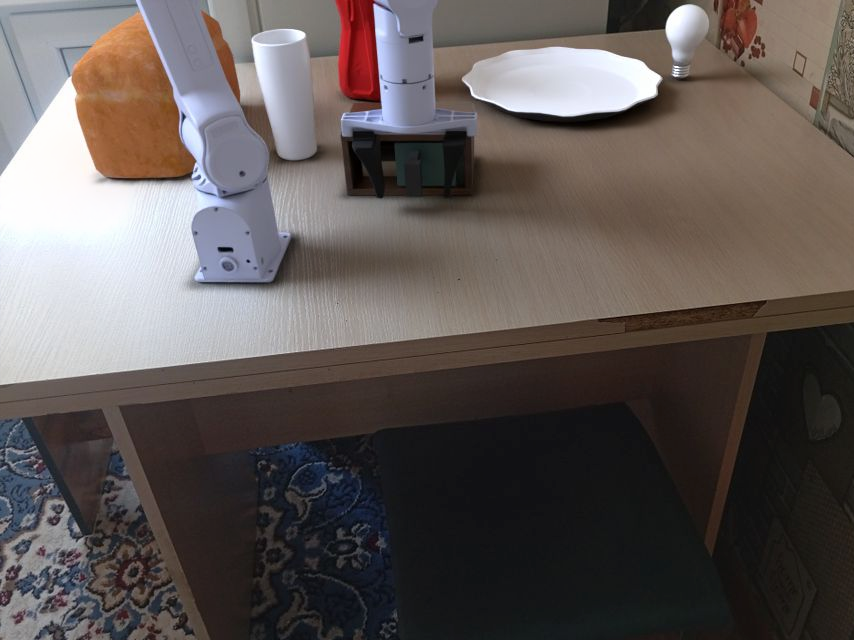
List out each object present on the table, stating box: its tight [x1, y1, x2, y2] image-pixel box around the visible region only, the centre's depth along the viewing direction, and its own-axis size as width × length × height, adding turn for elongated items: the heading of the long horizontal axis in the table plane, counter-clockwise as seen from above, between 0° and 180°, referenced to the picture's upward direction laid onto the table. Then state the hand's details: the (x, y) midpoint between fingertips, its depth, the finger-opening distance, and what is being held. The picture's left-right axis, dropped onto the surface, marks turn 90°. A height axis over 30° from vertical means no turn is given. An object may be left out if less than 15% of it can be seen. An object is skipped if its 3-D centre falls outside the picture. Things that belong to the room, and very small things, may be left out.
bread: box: [70, 9, 241, 179], centre depth 104 cm, size 14×26×16 cm, turn 179°
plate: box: [461, 46, 664, 123], centre depth 119 cm, size 29×29×2 cm
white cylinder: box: [251, 28, 318, 161], centre depth 99 cm, size 7×7×15 cm
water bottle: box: [334, 0, 384, 102], centre depth 113 cm, size 9×11×25 cm
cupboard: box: [339, 101, 475, 196], centre depth 96 cm, size 10×15×8 cm, turn 88°
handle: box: [394, 141, 457, 198], centre depth 90 cm, size 5×7×5 cm
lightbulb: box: [665, 3, 710, 81], centre depth 120 cm, size 6×6×11 cm
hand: (414, 194), depth 90 cm, fingers open, 7 cm apart
